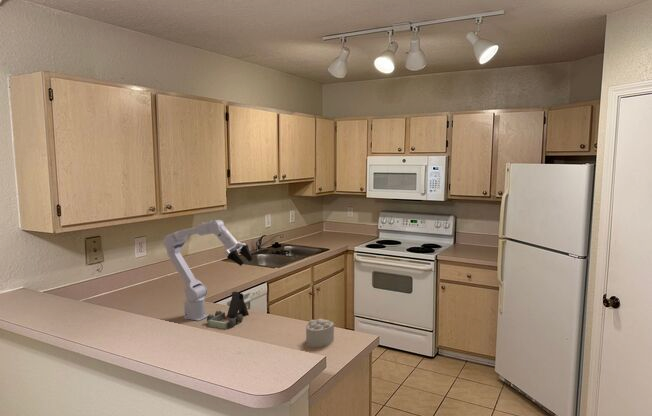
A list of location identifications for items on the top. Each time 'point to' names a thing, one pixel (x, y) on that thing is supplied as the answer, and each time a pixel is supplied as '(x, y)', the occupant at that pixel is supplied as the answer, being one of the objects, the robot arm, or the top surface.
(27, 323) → the top surface
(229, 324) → the chassis bay
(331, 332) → the lumpy-topped squat cylinder
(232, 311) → the phone stand
